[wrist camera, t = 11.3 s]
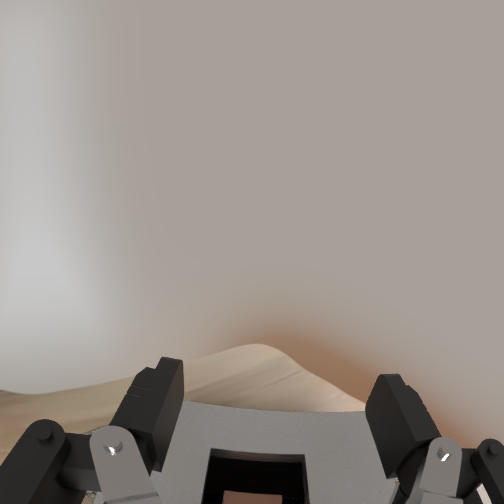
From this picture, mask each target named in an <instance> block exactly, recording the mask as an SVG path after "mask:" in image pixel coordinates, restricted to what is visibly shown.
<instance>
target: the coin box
mask: <svg viewBox="0 0 504 504" xmlns="http://www.w3.org/2000/svg"><path fill="white" fill-rule="evenodd" d="M150 479H151V481H152V483H153V485H154V488H155V490H156V492H157V493H158V495H159V496H160V498H161V500H162V502H163V504H202V503H203V497H204V493H207V494H215V495H223V496H224V491H233V492H242V493H253V494H267V495H282V499H305V504H388V503H389V501H390V498H391V496H392V493H393V491H394V488H395V486H396V484H395V481H394V478H391V479H386V476H385V473H384V470H383V467H382V463H381V460H380V457H379V454H378V451H377V448H376V445H375V442H374V439H373V436H372V433H371V430H370V427H369V424H368V421H367V418H366V415H365V411H357V412H287V411H269V410H256V409H245V408H235V407H227V406H219V405H212V404H205V403H198V402H192V401H186V400H183V403H182V407H181V410H180V413H179V417H178V420H177V423H176V426H175V429H174V433H173V436H172V439H171V442H170V446H169V449H168V452H167V455H166V459H165V462H164V465H163V469H162V472H157V471H153V470H152V473H151V476H150ZM103 503H104V497H103V494H102V492H97V495H96V497H95V499H94V502H93V504H103Z"/></svg>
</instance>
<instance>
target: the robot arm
mask: <svg viewBox="0 0 504 504" xmlns="http://www.w3.org/2000/svg"><path fill="white" fill-rule="evenodd" d="M183 398H184V375H183V361H182V360H178V359H173V358H168V357H162V358H161V359H160V361H159V363H158V365H157V367H156V369H153V368H148V367H146V368H145V369H143V370H142V371H141V372H139V373H138V374H137V375H136V377H135V378H134V380H133V382H132V384H131V386H130V387H129V389H128V391H127V394H126V395H125V397H124V398H123V400H122V402H121V404H120V406H119V408H118V410H117V411H116V413H115V415H114V417H113V419H112V421H111V423H110V424H109V426H105V427H102V428H99V429H98V430H96V431H95V432H94V433H93V434H90V435H84V434H73V433H65V432H64V430H63V428H62V427H61V426H60V425H59V424H58V423H57V422H55V421H52V420H48V419H42V420H38V421H35V422H33V423H32V424H31V425H30V426H29V427H28V428H27V430H26V431H25V432H24V434H23V435H22V436H21V438H20V439H19V440H18V442H17V443H16V445H15V446H14V447H13V449H12V450H11V452H10V453H9V455H8V456H7V457H6V459H5V460H4V462H3V463H2V465H1V466H0V504H81V503H82V501H83V499H84V497H85V494H86V492H87V491H96V492H102V494H103V497H104V503H103V504H163V502H162V500H161V498H160V496H159V495H158V493H157V492H156V490H155V488H154V485H153V483H152V481H151V479H150V476H151V473H152V470H153V471H157V472H162V469H163V465H164V462H165V459H166V455H167V452H168V449H169V446H170V442H171V439H172V436H173V433H174V429H175V426H176V423H177V420H178V417H179V413H180V410H181V407H182V403H183ZM365 415H366V418H367V421H368V424H369V427H370V430H371V433H372V436H373V439H374V442H375V445H376V448H377V451H378V454H379V457H380V460H381V463H382V467H383V470H384V473H385V476H386V479H391V478H396V477H398V480H399V482H398V483H397V484H396V486H395V488H394V491H393V493H392V496H391V498H390V501H389V503H388V504H483V502H482V500H481V498H480V496H479V494H478V492H477V490H476V489H477V488H478V487H479V486H480V485H481V484H483V485H484V487H485V490H486V492H487V494H488V496H489V498H490V500H491V503H492V504H504V446H503V445H502V444H501V443H500V442H499V441H497V440H495V439H486V440H484V441H482V442H481V444H480V445H479V446H478V447H477V449H466V448H465V449H464V448H463V449H462V448H461V447H460V446H459V444H458V443H457V442H456V441H454V440H452V439H450V438H447V437H442V436H441V435H440V433H439V431H438V429H437V427H436V425H435V423H434V422H433V420H432V418H431V416H430V414H429V413H428V411H427V409H426V407H425V405H424V404H423V402H422V400H421V398H420V397H419V395H418V393H417V392H416V391H415V390H413V389H412V388H411V387H410V386H409V385H408V386H406V385H405V383H404V382H403V380H402V378H401V376H400V375H399V374H381V375H379V376H378V378H377V380H376V382H375V385H374V387H373V389H372V392H371V394H370V396H369V398H368V401H367V403H366V407H365Z"/></svg>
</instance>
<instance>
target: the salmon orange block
mask: <svg viewBox="0 0 504 504" xmlns="http://www.w3.org/2000/svg"><path fill="white" fill-rule="evenodd" d="M223 504H282V495H267V494H253V493H242V492H233V491H224V498H223Z"/></svg>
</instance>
